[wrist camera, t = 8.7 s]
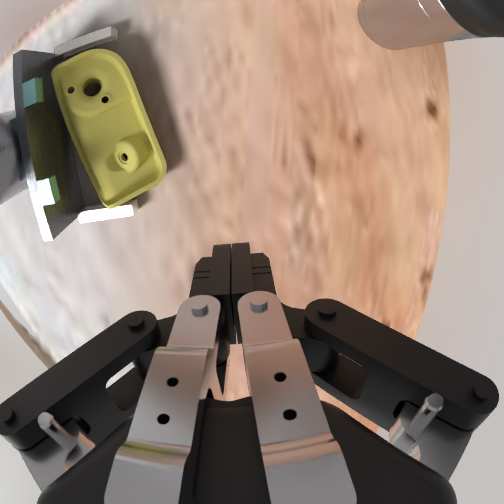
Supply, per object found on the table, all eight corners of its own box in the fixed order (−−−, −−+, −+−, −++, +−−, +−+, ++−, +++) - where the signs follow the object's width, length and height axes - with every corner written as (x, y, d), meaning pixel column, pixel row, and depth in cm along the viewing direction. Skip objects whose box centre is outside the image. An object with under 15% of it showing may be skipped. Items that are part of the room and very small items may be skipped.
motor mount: (117, 29, 26) (43, -5, 11) (138, 208, 39) (85, 280, 23) (-2, 82, 26) (-82, 95, 10) (24, 227, 38) (-40, 285, 23)
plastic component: (172, 177, 35) (102, 215, 32) (160, 170, 41) (101, 202, 38) (118, 37, 24) (41, 73, 21) (114, 52, 30) (50, 83, 27)
